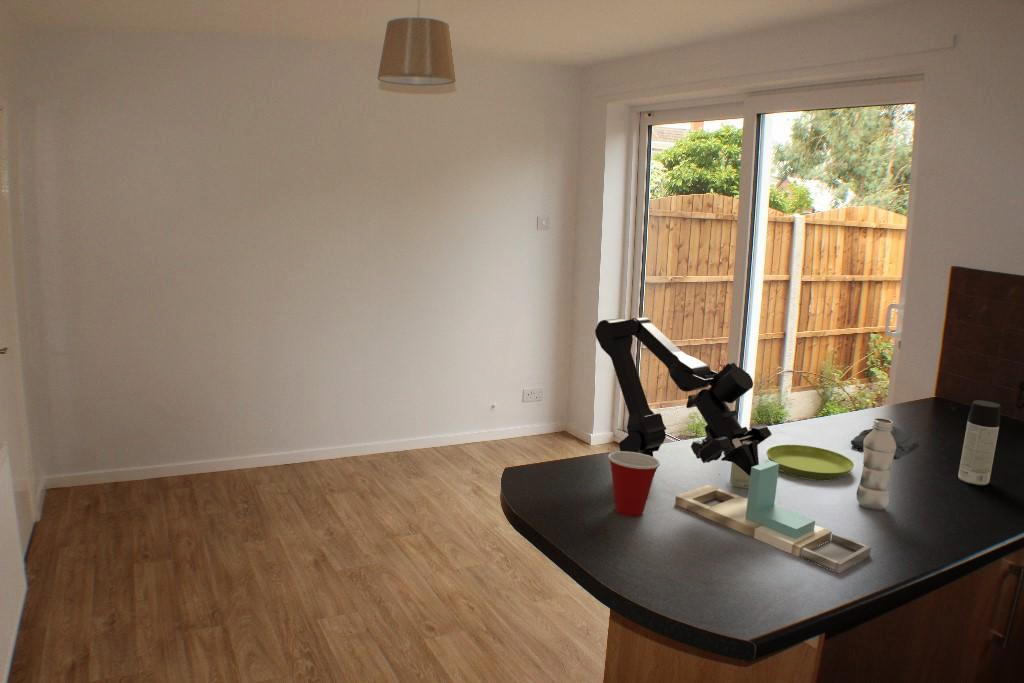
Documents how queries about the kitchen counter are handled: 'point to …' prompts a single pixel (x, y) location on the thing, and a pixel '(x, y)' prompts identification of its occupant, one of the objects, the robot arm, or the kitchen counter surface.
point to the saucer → (810, 462)
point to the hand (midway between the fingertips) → (758, 479)
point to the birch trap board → (733, 515)
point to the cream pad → (780, 537)
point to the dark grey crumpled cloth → (901, 439)
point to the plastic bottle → (877, 466)
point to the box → (739, 477)
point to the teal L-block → (772, 504)
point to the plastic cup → (631, 480)
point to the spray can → (980, 442)
